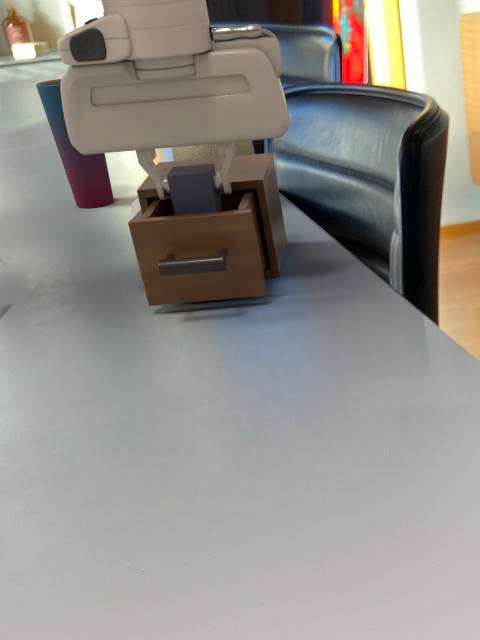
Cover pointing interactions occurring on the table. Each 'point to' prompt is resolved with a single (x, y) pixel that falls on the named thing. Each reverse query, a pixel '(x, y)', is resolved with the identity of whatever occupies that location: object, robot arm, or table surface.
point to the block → (193, 189)
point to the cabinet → (243, 176)
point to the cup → (76, 154)
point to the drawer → (201, 251)
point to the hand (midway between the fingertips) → (195, 195)
